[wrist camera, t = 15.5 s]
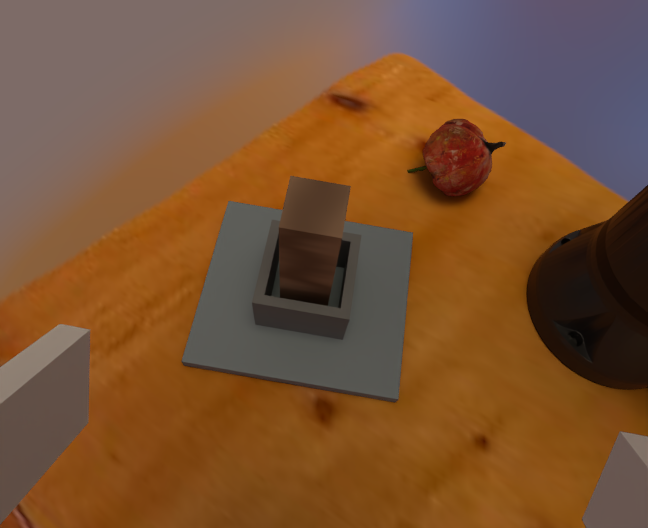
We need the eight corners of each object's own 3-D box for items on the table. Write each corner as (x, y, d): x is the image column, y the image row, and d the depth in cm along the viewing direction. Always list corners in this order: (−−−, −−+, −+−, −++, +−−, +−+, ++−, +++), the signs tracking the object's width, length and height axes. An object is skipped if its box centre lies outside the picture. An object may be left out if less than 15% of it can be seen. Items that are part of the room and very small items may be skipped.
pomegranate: (413, 217, 53) (510, 204, 47) (384, 167, 48) (487, 145, 43) (427, 170, 57) (518, 152, 51) (401, 119, 52) (498, 93, 47)
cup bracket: (410, 238, 49) (426, 204, 44) (395, 402, 42) (412, 385, 36) (229, 207, 49) (222, 168, 44) (184, 365, 42) (169, 343, 36)
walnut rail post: (332, 276, 45) (350, 186, 33) (325, 317, 44) (342, 238, 31) (288, 268, 45) (290, 175, 33) (280, 309, 44) (278, 227, 31)
